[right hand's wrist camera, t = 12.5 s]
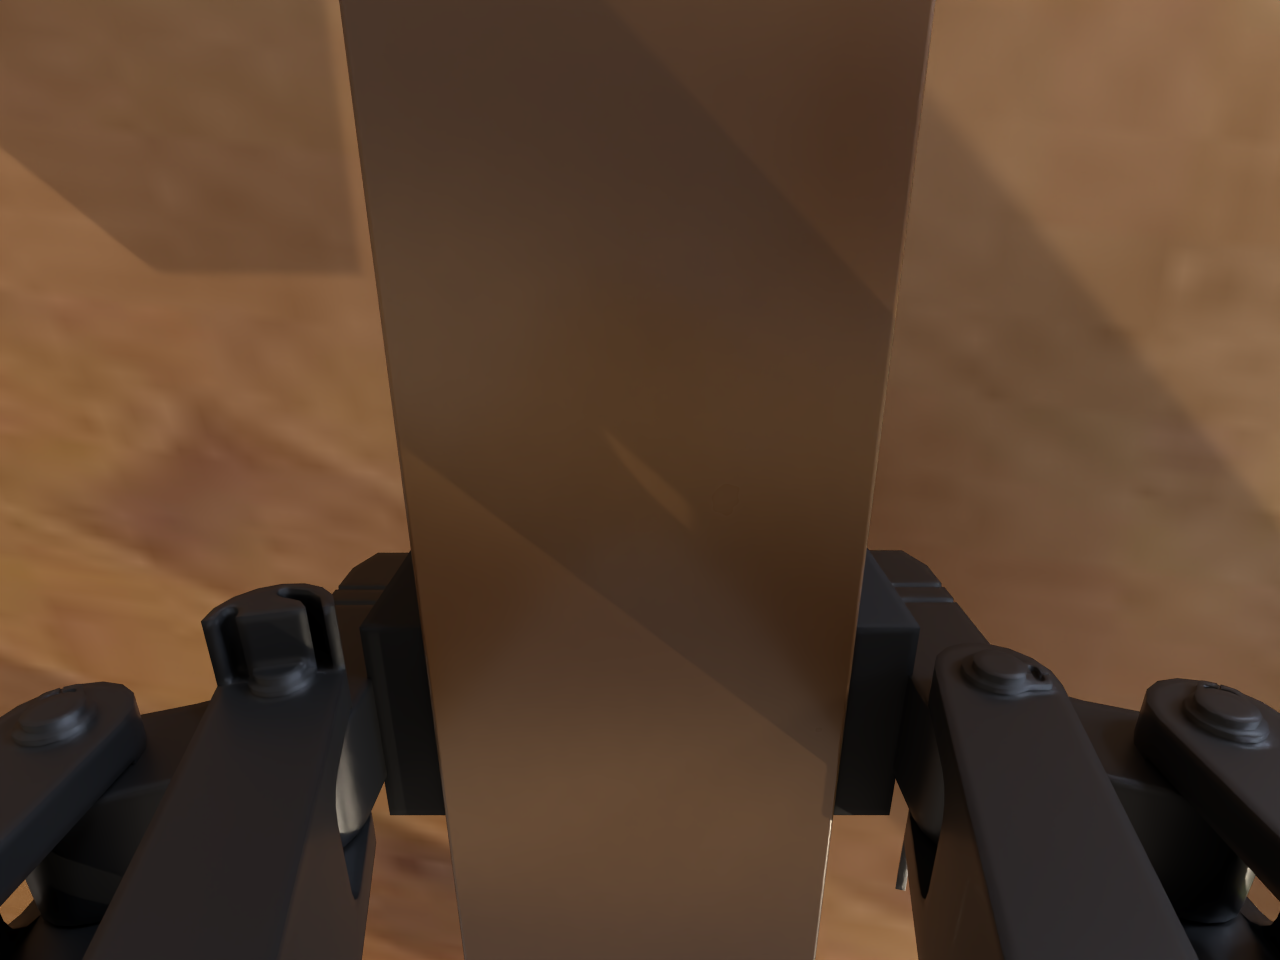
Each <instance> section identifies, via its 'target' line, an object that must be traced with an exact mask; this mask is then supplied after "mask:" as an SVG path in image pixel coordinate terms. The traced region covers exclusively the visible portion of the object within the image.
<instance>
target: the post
mask: <svg viewBox="0 0 1280 960" xmlns="http://www.w3.org/2000/svg"><path fill="white" fill-rule="evenodd" d="M339 3H340V11H341V19H342V26H343V34H344V42H345V49H346V57H347V64H348V72H349V80H350V87H351V95H352V103H353V110H354V118H355V126H356V133H357V141H358V149H359V156H360V164H361V172H362V179H363V187H364V194H365V202H366V210H367V217H368V225H369V233H370V240H371V248H372V256H373V263H374V271H375V279H376V286H377V294H378V302H379V309H380V317H381V325H382V332H383V340H384V347H385V355H386V363H387V370H388V378H389V386H390V393H391V401H392V409H393V416H394V424H395V432H396V439H397V447H398V455H399V462H400V470H401V477H402V485H403V493H404V500H405V508H406V516H407V523H408V531H409V539H410V546H411V554H412V562H413V569H414V577H415V585H416V592H417V600H418V608H419V615H420V623H421V630H422V638H423V646H424V653H425V661H426V669H427V676H428V684H429V692H430V699H431V707H432V715H433V722H434V730H435V738H436V745H437V753H438V760H439V768H440V776H441V783H442V791H443V799H444V806H445V814H446V822H447V829H448V837H449V845H450V852H451V860H452V868H453V875H454V883H455V891H456V898H457V906H458V913H459V921H460V929H461V936H462V944H463V952H464V959H465V960H815V957H816V949H817V941H818V933H819V925H820V917H821V909H822V901H823V893H824V885H825V877H826V869H827V861H828V853H829V845H830V837H831V829H832V821H833V813H834V805H835V797H836V790H837V782H838V774H839V766H840V758H841V750H842V742H843V734H844V726H845V718H846V710H847V702H848V694H849V686H850V678H851V670H852V662H853V654H854V646H855V638H856V630H857V622H858V614H859V606H860V598H861V590H862V582H863V574H864V566H865V558H866V550H867V542H868V534H869V527H870V519H871V511H872V503H873V495H874V487H875V479H876V471H877V463H878V455H879V447H880V439H881V431H882V423H883V415H884V407H885V399H886V391H887V383H888V375H889V367H890V359H891V351H892V343H893V335H894V327H895V319H896V311H897V303H898V295H899V287H900V279H901V271H902V263H903V256H904V248H905V240H906V232H907V224H908V216H909V208H910V200H911V192H912V184H913V176H914V168H915V160H916V152H917V144H918V136H919V128H920V120H921V112H922V104H923V96H924V88H925V80H926V72H927V64H928V56H929V48H930V40H931V32H932V24H933V16H934V8H935V0H339Z"/></svg>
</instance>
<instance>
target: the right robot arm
mask: <svg viewBox="0 0 1280 960" xmlns="http://www.w3.org/2000/svg"><path fill="white" fill-rule="evenodd" d="M201 623H202V627H203V631H204V635H205V639H206V643H207V647H208V650H209V654H210V658H211V662H212V666H213V670H214V674H215V678H216V681H217V685H218V686H217V688H216V690H215V692H214V694H213V696H212V698H211V700H210V701H206V702H202V703H198V704H194V705H188V706H183V707H178V708H173V709H168V710H163V711H158V712H153V713H148V714H143V715H140V712H139V709H138V706H137V702H136V699H135V696H134V693H133V692H132V691H131V690H129V689H128V688H127V687H125V686H124V685H123V684H116V683H109V682H95V683H86V684H75V685H70V686H65V687H63V689H60V688H58V689H55V690H52V691H49V692H46V693H44V694H42V695H40V696H39V697H37V698H35V699H32V700H30V701H28V702H26V703H23V704H21V705H19V706H17V707H16V708H14V709H12V710H11V711H9V712H8V713H6V714H5V715H3V716H2V717H0V906H1V905H2V904H3V903H4V902H5V901H6V900H7V898H8V897H9V896H10V895H11V894H12V893H13V892H14V891H15V890H16V889H17V888H18V886H19V885H20V884H21V883H22V882H23V881H24V880H26V882H27V884H28V887H29V889H30V891H31V894H32V896H33V898H34V900H33V901H32V902H31V903H30V904H29V906H28V907H27V908H26V909H25V910H24V911H23V912H22V914H20V915H19V916H18V917H17V918H16V919H14V920H13V921H12V922H11V923H9V924H6V923H5V922H4V921H3V919H2V916H1V914H0V960H362V953H363V945H364V937H365V929H366V921H367V913H368V905H369V897H370V889H371V880H372V872H373V864H374V856H375V848H376V837H375V830H374V824H373V818H372V813H371V810H372V808H373V806H374V804H375V801H376V799H377V797H378V795H379V792H380V790H381V788H382V786H383V783H384V781H385V787H386V793H387V799H388V805H389V811H390V815H446V814H445V806H444V799H443V791H442V783H441V776H440V768H439V760H438V753H437V745H436V738H435V730H434V722H433V715H432V707H431V699H430V692H429V684H428V676H427V669H426V661H425V653H424V646H423V638H422V630H421V623H420V615H419V608H418V600H417V592H416V585H415V577H414V569H413V562H412V554H411V551H410V552H409V553H377V554H375V555H374V556H372V557H370V558H369V559H367V560H365V561H364V562H362V563H361V564H359V565H357V566H356V567H354V568H353V569H352V570H351V571H350V572H349V574H348V575H347V576H346V577H345V579H344V580H343V581H342V583H341V584H340V585H339V589H338V590H335V591H334V593H333V594H331V593H330V592H328V591H327V590H325V589H324V588H323V587H319V586H314V585H310V584H305V583H303V584H279V585H274V586H269V587H263V588H258V589H255V590H252V591H249V592H247V593H244V594H241V595H238V596H235V597H233V598H231V599H229V600H228V601H226V602H224V603H222V604H221V605H219V606H217V607H215V608H214V609H213V610H212V611H211V612H210V613H209V614H208V615H207V616H206V617H205V618H204V619H203V620H202V621H201ZM895 778H896V781H897V783H898V785H899V787H900V790H901V792H902V794H903V796H904V799H905V801H906V803H907V805H908V808H909V813H908V818H907V824H906V829H905V835H904V841H903V846H902V852H901V858H900V863H899V869H898V875H897V882H896V889H900V890H905V889H906V884H907V878H908V879H909V887H910V895H911V903H912V911H913V919H914V927H915V935H916V943H917V951H918V959H919V960H1280V913H1279V915H1278V917H1277V919H1276V920H1275V921H1274V922H1272V921H1270V920H1269V919H1268V918H1267V917H1266V916H1265V915H1264V914H1263V913H1261V912H1260V911H1259V910H1258V909H1257V907H1256V906H1255V905H1254V904H1253V903H1252V902H1251V901H1250V900H1249V898H1248V897H1247V894H1248V892H1249V890H1250V887H1251V885H1252V883H1253V880H1254V878H1255V876H1257V877H1258V878H1259V879H1260V880H1261V882H1262V883H1263V884H1264V885H1265V886H1266V887H1267V888H1268V889H1269V890H1270V891H1271V892H1272V893H1273V895H1274V896H1275V897H1276V898H1277V899H1278V900H1279V901H1280V713H1278V712H1277V711H1275V710H1274V709H1272V708H1271V707H1269V706H1268V705H1266V704H1264V703H1263V702H1261V701H1259V700H1256V699H1254V698H1252V697H1249V696H1247V695H1245V694H1243V693H1241V692H1240V691H1238V690H1236V689H1233V688H1230V687H1227V686H1224V685H1220V686H1219V685H1217V683H1212V682H1208V681H1198V680H1189V679H1179V678H1176V679H1169V680H1162V681H1157V682H1156V683H1155V684H1153V685H1152V686H1151V687H1149V688H1148V689H1147V691H1146V694H1145V697H1144V701H1143V704H1142V707H1141V710H1140V712H1139V711H1134V710H1128V709H1123V708H1118V707H1113V706H1108V705H1103V704H1098V703H1093V702H1087V701H1083V700H1079V699H1075V698H1071V697H1068V695H1067V693H1066V691H1065V689H1064V687H1063V685H1062V684H1061V683H1060V681H1059V680H1058V679H1057V678H1056V677H1055V675H1054V674H1053V673H1052V672H1051V671H1050V670H1049V669H1047V668H1046V667H1044V666H1043V665H1041V664H1040V663H1038V662H1037V661H1036V660H1034V659H1033V658H1030V657H1028V656H1026V655H1023V654H1021V653H1018V652H1016V651H1013V650H1011V649H1008V648H1004V647H999V646H995V645H990V644H989V642H988V641H987V640H986V639H985V637H984V636H983V635H982V634H981V632H980V631H979V630H978V629H977V627H976V626H975V625H974V624H973V622H972V621H971V620H970V619H969V617H968V616H967V615H966V614H965V612H964V611H963V610H962V609H961V607H960V606H959V605H958V604H957V602H953V597H952V596H951V595H950V594H949V592H948V591H947V590H946V589H945V587H942V586H941V582H940V581H939V580H938V579H937V577H936V576H935V575H934V574H933V572H932V571H931V570H930V569H929V567H928V566H927V565H925V564H923V563H922V562H920V561H918V560H917V559H915V558H914V557H912V556H910V555H909V554H907V553H905V552H904V551H902V550H868V548H867V550H866V558H865V566H864V574H863V582H862V590H861V598H860V606H859V614H858V622H857V630H856V638H855V646H854V654H853V662H852V670H851V678H850V686H849V694H848V702H847V710H846V718H845V726H844V734H843V742H842V750H841V758H840V766H839V774H838V782H837V790H836V797H835V805H834V813H833V815H889V814H890V808H891V802H892V796H893V790H894V784H895Z"/></svg>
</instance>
